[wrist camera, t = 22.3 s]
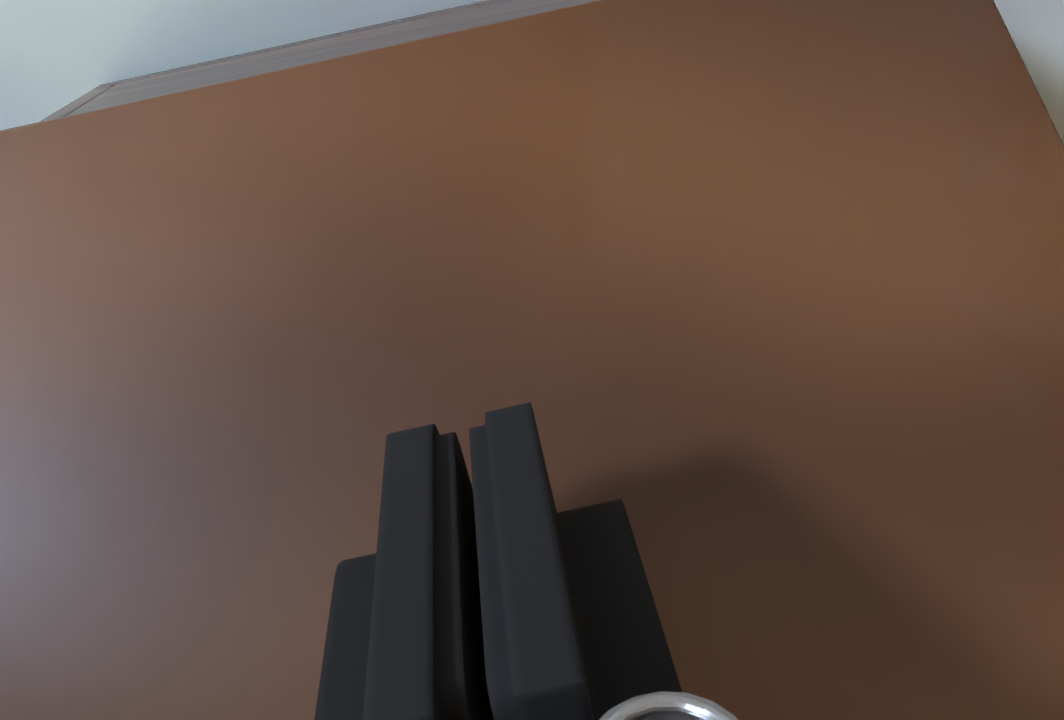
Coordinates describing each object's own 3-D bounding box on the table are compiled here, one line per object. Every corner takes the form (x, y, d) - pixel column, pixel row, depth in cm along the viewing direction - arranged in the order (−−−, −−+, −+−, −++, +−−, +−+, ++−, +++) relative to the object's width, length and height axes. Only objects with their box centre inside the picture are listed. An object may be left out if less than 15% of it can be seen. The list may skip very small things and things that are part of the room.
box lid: (1418, 980, 10) (1486, 1006, 9) (4, 1282, 10) (-47, 1336, 9) (938, -43, 15) (956, -81, 14) (9, 160, 15) (-23, 133, 14)
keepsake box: (835, 449, 26) (912, 556, 21) (302, 565, 26) (278, 695, 22) (823, -74, 19) (933, -63, 15) (98, 85, 19) (5, 140, 15)
